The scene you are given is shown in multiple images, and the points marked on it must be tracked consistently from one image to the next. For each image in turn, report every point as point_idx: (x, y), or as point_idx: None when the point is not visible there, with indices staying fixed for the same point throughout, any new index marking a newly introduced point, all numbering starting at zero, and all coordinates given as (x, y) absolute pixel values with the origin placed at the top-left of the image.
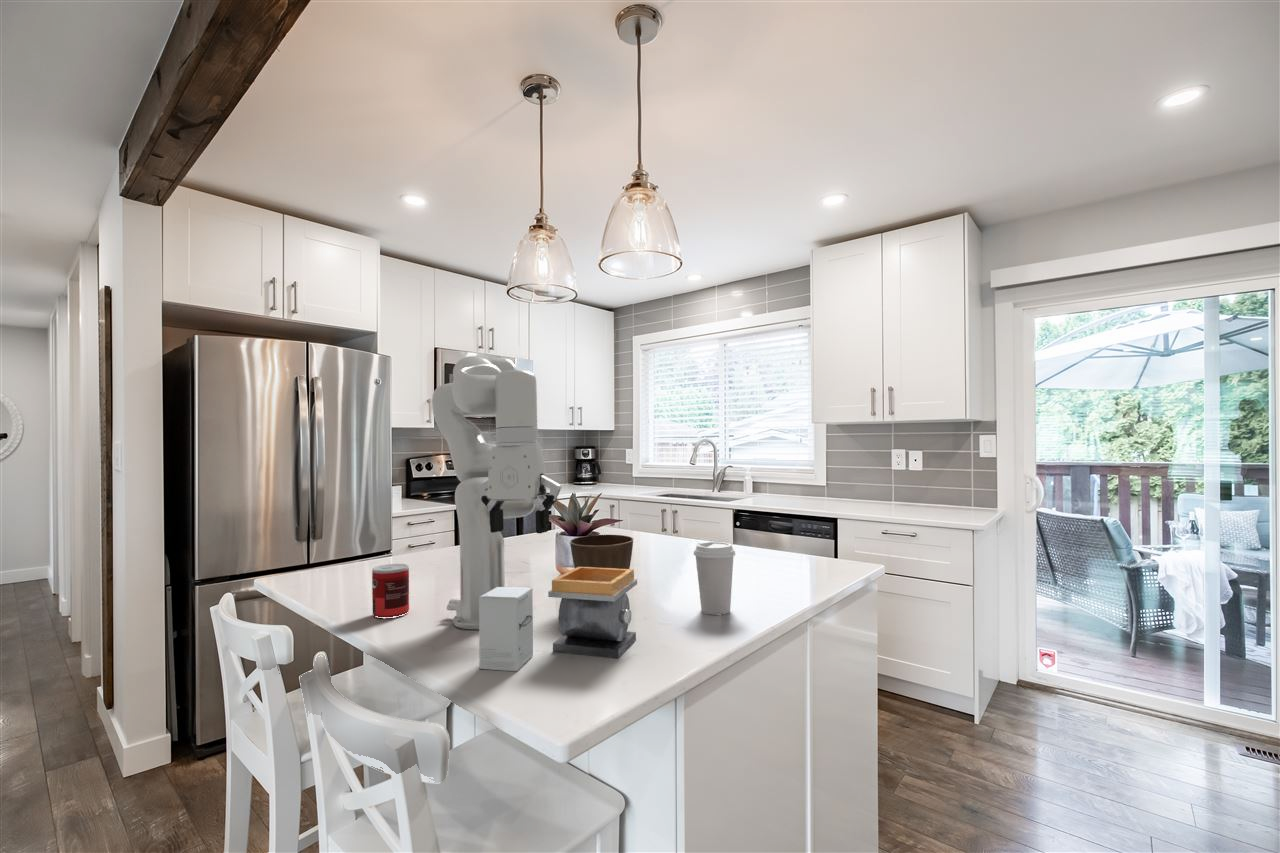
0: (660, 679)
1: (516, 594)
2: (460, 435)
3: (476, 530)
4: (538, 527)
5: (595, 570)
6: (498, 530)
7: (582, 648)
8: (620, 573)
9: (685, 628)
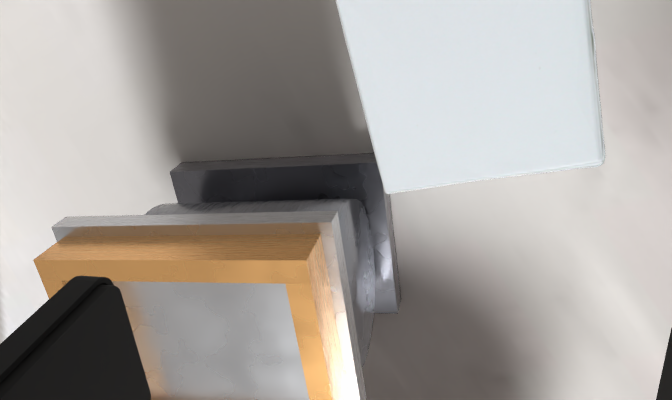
0: (16, 68)
1: (372, 37)
2: None
3: None
4: (47, 302)
5: None
6: (662, 391)
7: (279, 164)
8: None
9: None
